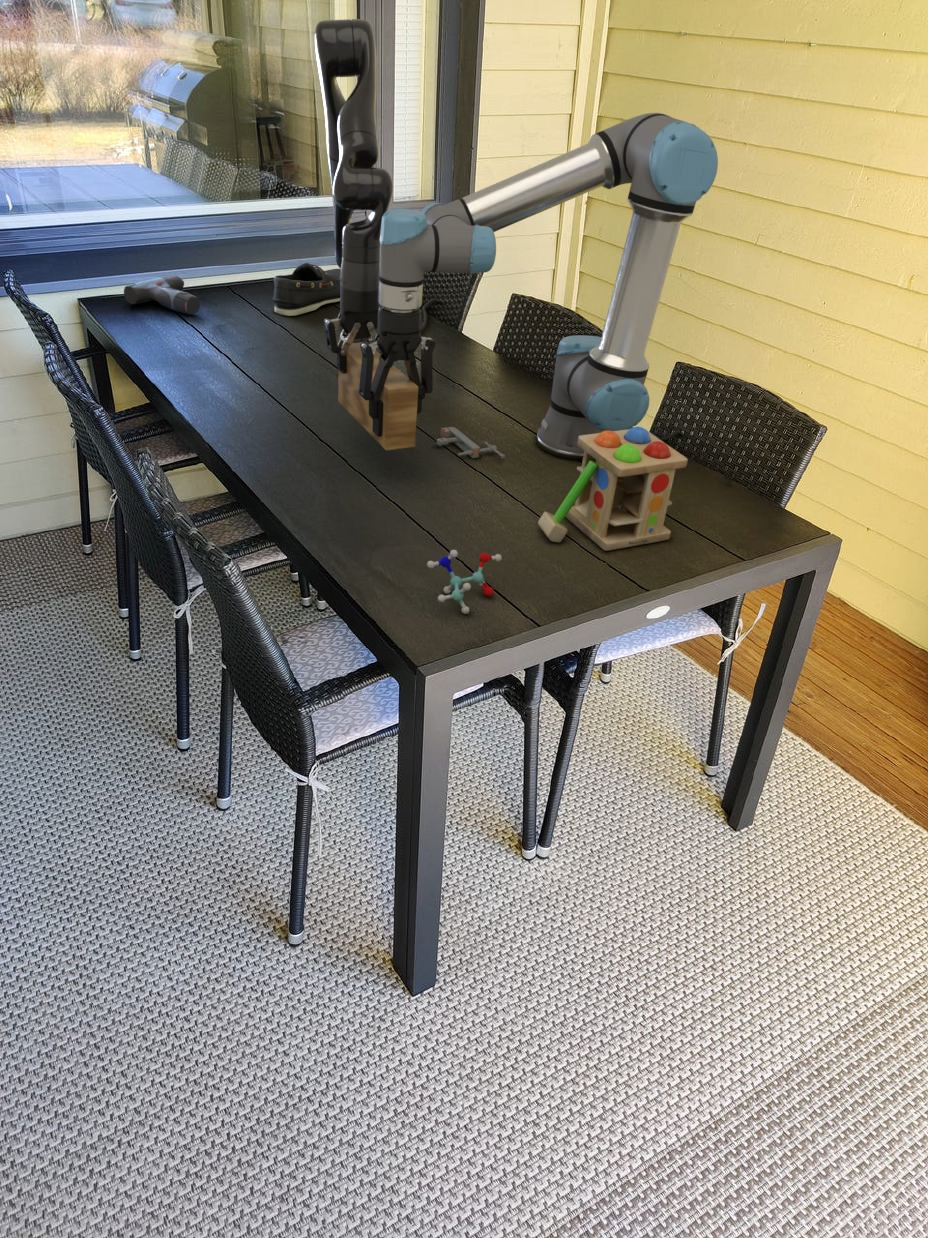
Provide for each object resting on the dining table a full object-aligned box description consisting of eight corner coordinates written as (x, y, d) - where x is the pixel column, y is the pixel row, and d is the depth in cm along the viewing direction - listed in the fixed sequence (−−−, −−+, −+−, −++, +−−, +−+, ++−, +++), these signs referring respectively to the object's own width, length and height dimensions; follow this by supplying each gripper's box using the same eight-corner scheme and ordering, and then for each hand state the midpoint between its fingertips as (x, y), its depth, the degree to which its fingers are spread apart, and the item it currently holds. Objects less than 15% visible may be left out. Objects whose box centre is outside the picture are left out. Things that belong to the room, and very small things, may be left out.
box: (338, 401, 197) (338, 344, 190) (365, 398, 199) (366, 341, 193) (385, 450, 179) (388, 389, 173) (415, 446, 182) (418, 386, 175)
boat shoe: (367, 296, 285) (368, 259, 280) (292, 317, 262) (291, 278, 256) (333, 288, 291) (332, 251, 286) (256, 308, 267) (254, 269, 262)
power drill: (228, 285, 263) (174, 269, 271) (176, 299, 250) (121, 282, 258) (229, 305, 266) (176, 289, 274) (178, 320, 253) (123, 303, 261)
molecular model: (493, 609, 147) (472, 545, 146) (437, 624, 151) (416, 563, 149) (514, 592, 158) (494, 533, 156) (461, 607, 161) (442, 549, 160)
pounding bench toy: (563, 559, 168) (578, 464, 158) (523, 521, 178) (535, 429, 168) (671, 539, 177) (692, 448, 167) (627, 503, 188) (644, 416, 178)
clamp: (428, 429, 204) (470, 423, 208) (427, 439, 205) (469, 432, 209) (464, 459, 193) (507, 451, 198) (463, 469, 194) (506, 461, 199)
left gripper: (331, 291, 176) (330, 381, 186) (404, 287, 182) (400, 374, 192) (317, 279, 182) (317, 367, 191) (388, 275, 188) (385, 361, 197)
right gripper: (356, 316, 162) (353, 445, 175) (459, 309, 170) (449, 433, 183) (339, 303, 167) (338, 429, 180) (440, 296, 175) (432, 418, 188)
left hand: (358, 370), depth 192 cm, fingers closed on box, 6 cm apart
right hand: (394, 431), depth 182 cm, fingers open, 6 cm apart
